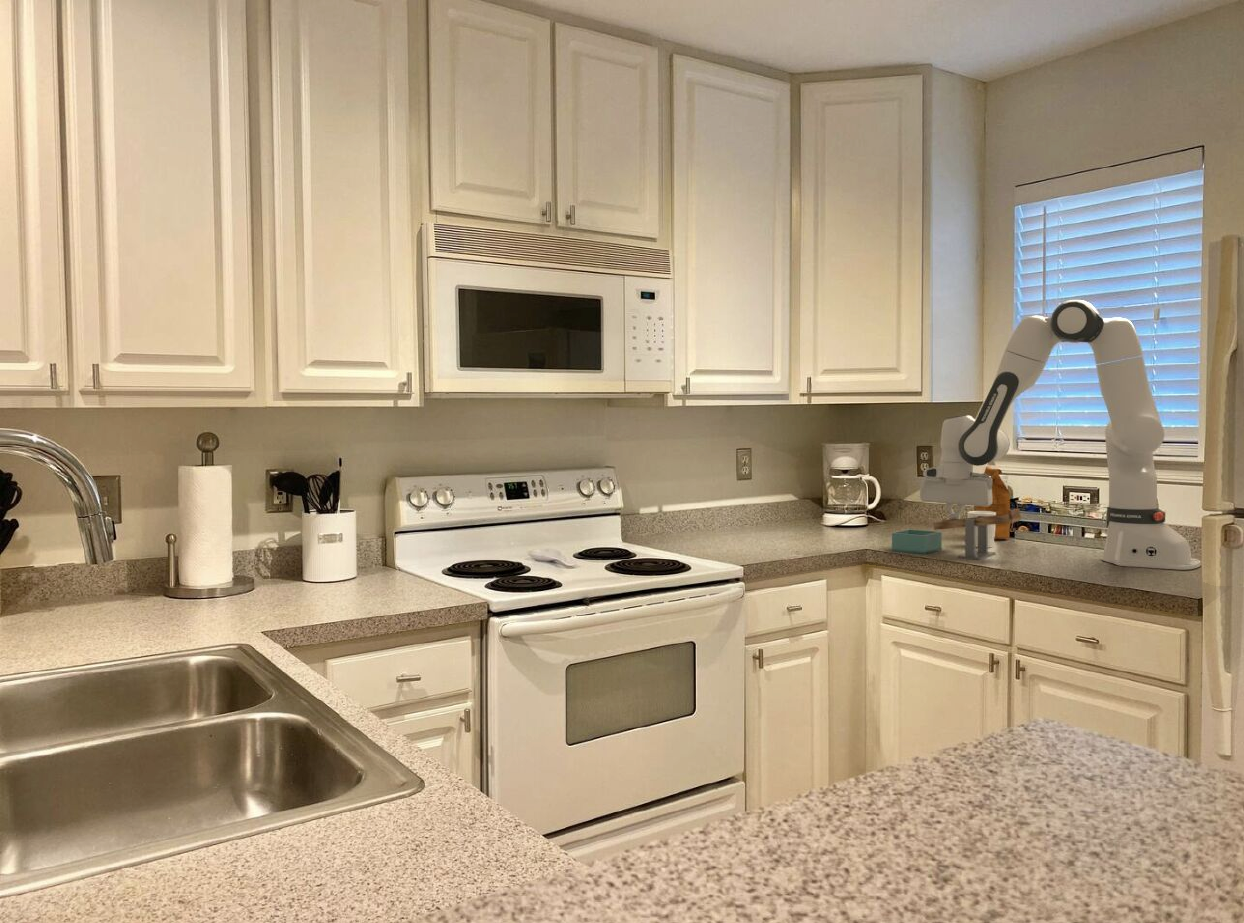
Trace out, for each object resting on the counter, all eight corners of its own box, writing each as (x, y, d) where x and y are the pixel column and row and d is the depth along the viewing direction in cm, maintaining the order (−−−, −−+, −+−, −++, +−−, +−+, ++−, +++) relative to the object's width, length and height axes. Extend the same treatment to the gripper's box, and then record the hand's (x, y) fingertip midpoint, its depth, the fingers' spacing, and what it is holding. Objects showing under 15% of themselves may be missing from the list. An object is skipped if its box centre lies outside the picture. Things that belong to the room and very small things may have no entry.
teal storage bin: (941, 549, 274) (941, 531, 273) (925, 554, 266) (925, 535, 266) (908, 546, 281) (908, 528, 280) (892, 550, 273) (891, 532, 273)
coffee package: (1002, 535, 299) (1002, 465, 298) (1013, 541, 287) (1013, 468, 286) (969, 535, 301) (969, 466, 299) (979, 541, 288) (979, 469, 287)
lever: (1030, 518, 260) (1028, 506, 260) (1012, 523, 251) (1010, 510, 251) (953, 525, 275) (951, 514, 275) (934, 530, 266) (932, 518, 266)
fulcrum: (995, 554, 263) (995, 516, 263) (979, 559, 255) (979, 520, 255) (974, 552, 267) (974, 515, 267) (957, 557, 259) (957, 519, 259)
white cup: (1000, 548, 275) (1000, 513, 274) (972, 548, 275) (972, 514, 274) (990, 543, 282) (990, 510, 282) (963, 544, 283) (963, 511, 282)
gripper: (997, 473, 266) (995, 522, 267) (927, 469, 280) (926, 515, 281) (988, 474, 261) (986, 524, 262) (917, 470, 275) (916, 517, 276)
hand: (955, 519), depth 272 cm, fingers closed
